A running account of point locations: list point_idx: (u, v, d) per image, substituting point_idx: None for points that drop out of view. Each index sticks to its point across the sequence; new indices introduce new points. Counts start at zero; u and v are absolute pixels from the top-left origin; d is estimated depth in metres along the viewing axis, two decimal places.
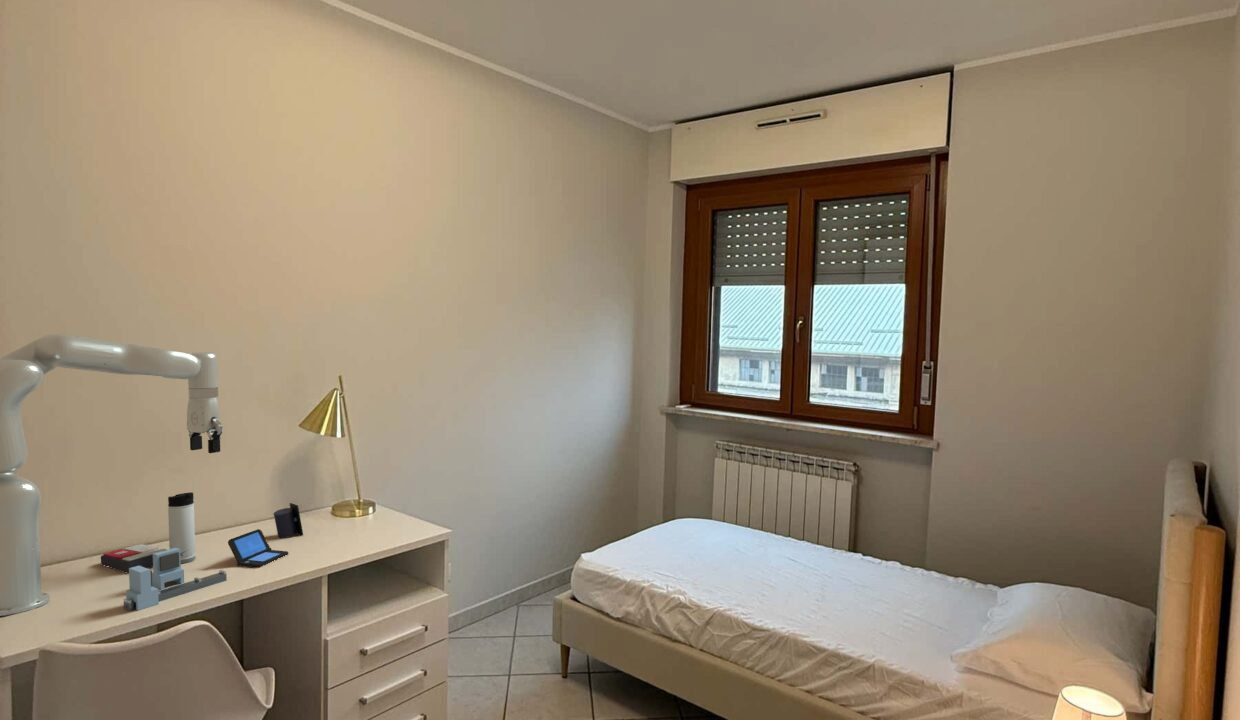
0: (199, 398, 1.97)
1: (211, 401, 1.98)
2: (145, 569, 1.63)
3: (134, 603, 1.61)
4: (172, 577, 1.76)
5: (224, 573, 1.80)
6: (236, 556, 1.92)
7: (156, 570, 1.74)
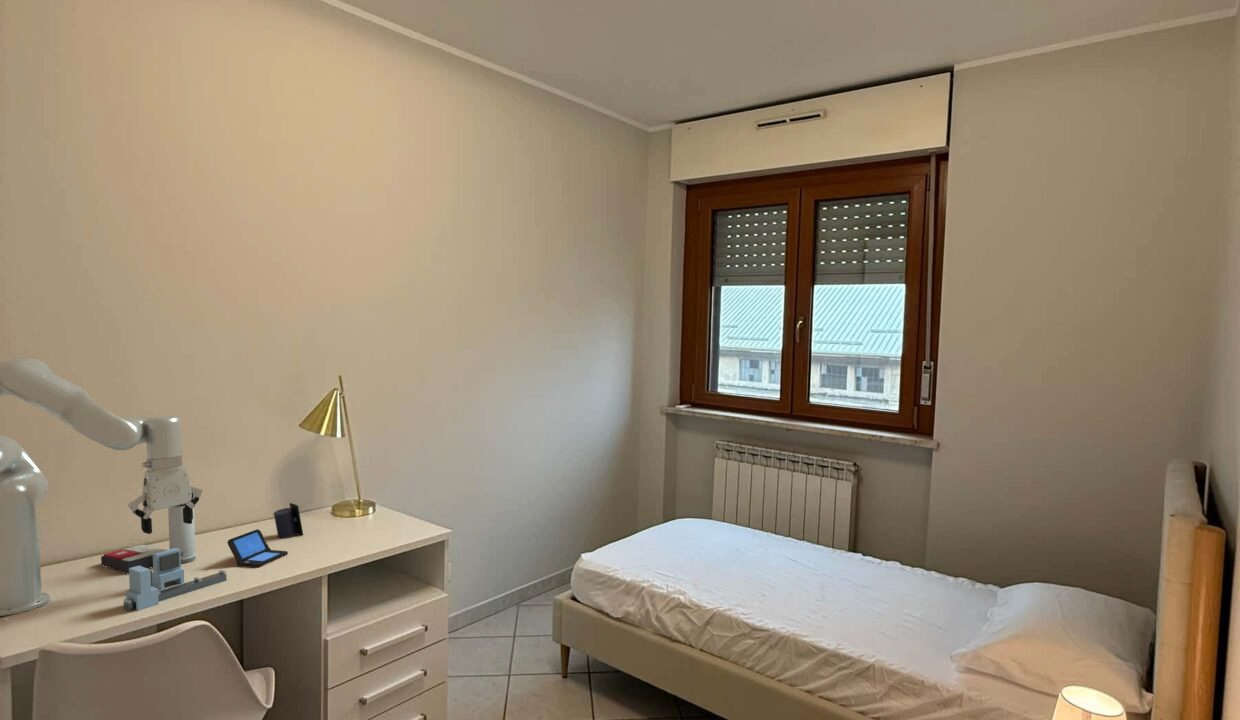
0: (181, 466, 1.77)
1: None
2: (145, 569, 1.63)
3: (134, 603, 1.61)
4: (172, 577, 1.76)
5: (224, 573, 1.80)
6: (236, 556, 1.92)
7: (156, 570, 1.74)
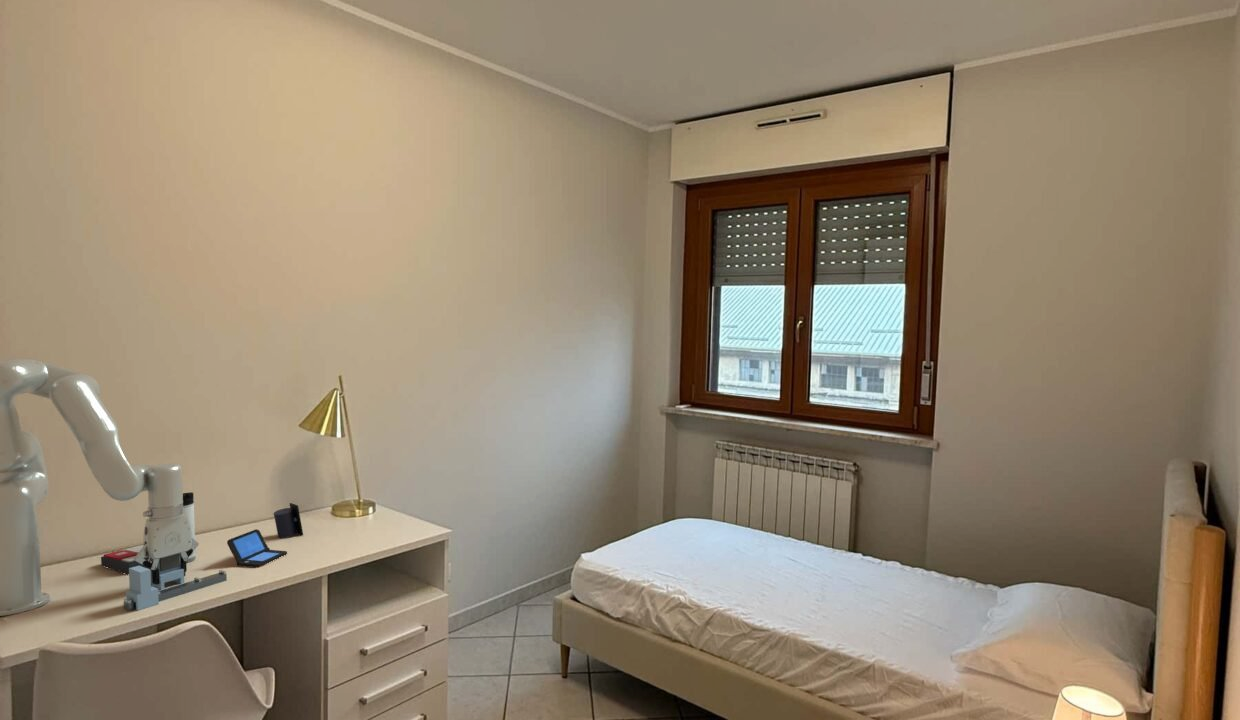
0: (182, 514, 1.77)
1: None
2: (145, 569, 1.63)
3: (134, 603, 1.61)
4: (172, 577, 1.76)
5: (224, 573, 1.80)
6: (235, 556, 1.92)
7: None
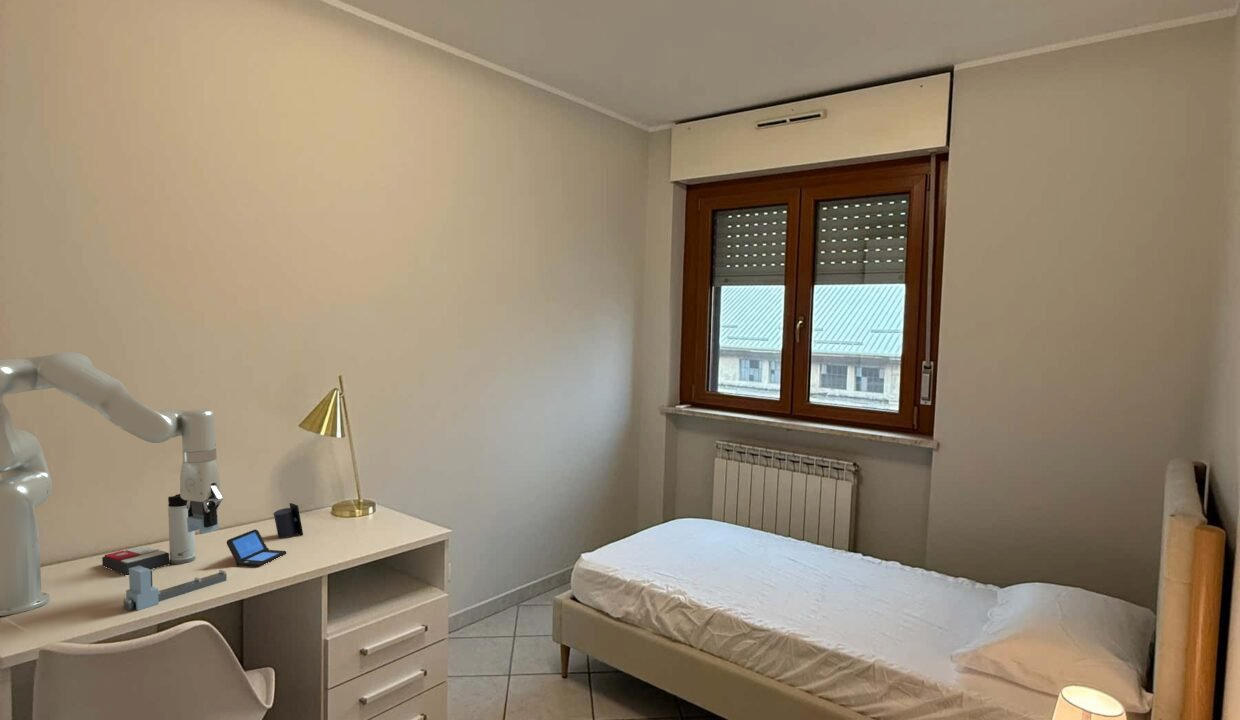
0: (196, 462, 1.73)
1: (210, 465, 1.74)
2: (145, 569, 1.63)
3: (134, 603, 1.61)
4: (194, 523, 1.75)
5: (224, 573, 1.80)
6: (235, 556, 1.92)
7: None
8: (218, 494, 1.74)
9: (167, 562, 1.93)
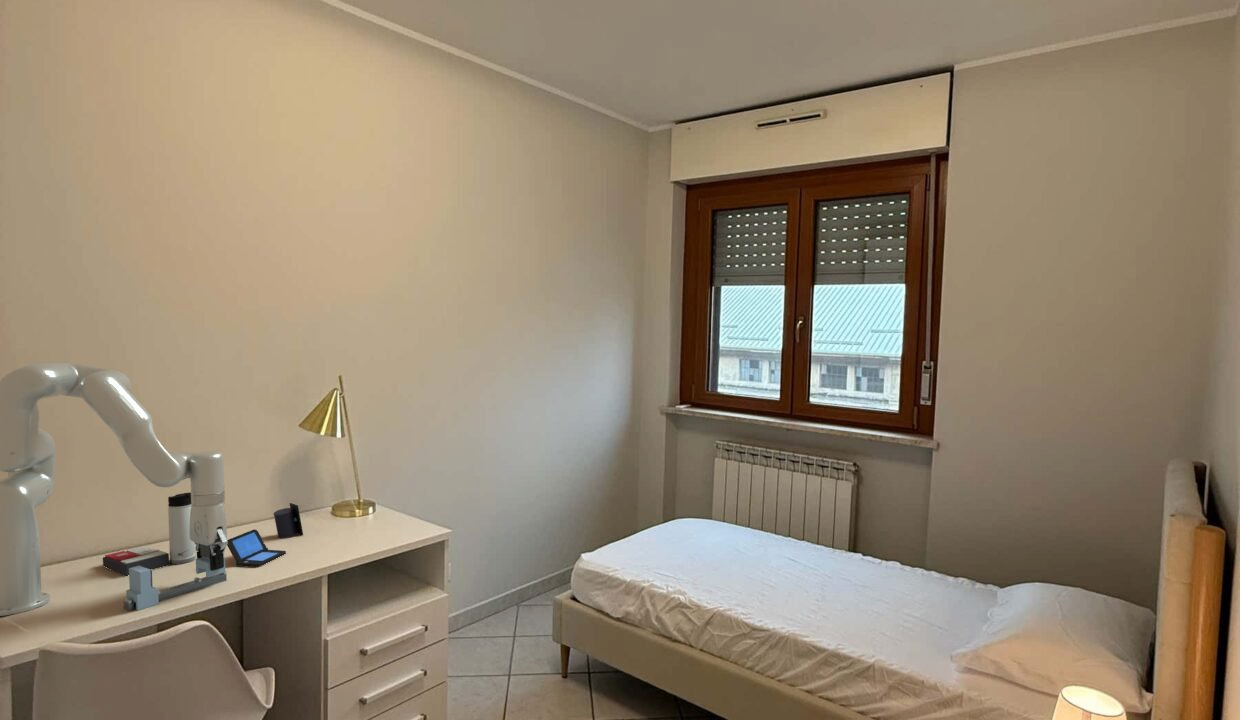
0: (203, 506, 1.73)
1: (216, 508, 1.74)
2: (145, 569, 1.63)
3: (134, 603, 1.61)
4: (201, 565, 1.76)
5: (224, 573, 1.80)
6: (235, 556, 1.92)
7: None
8: (223, 538, 1.74)
9: (167, 563, 1.92)
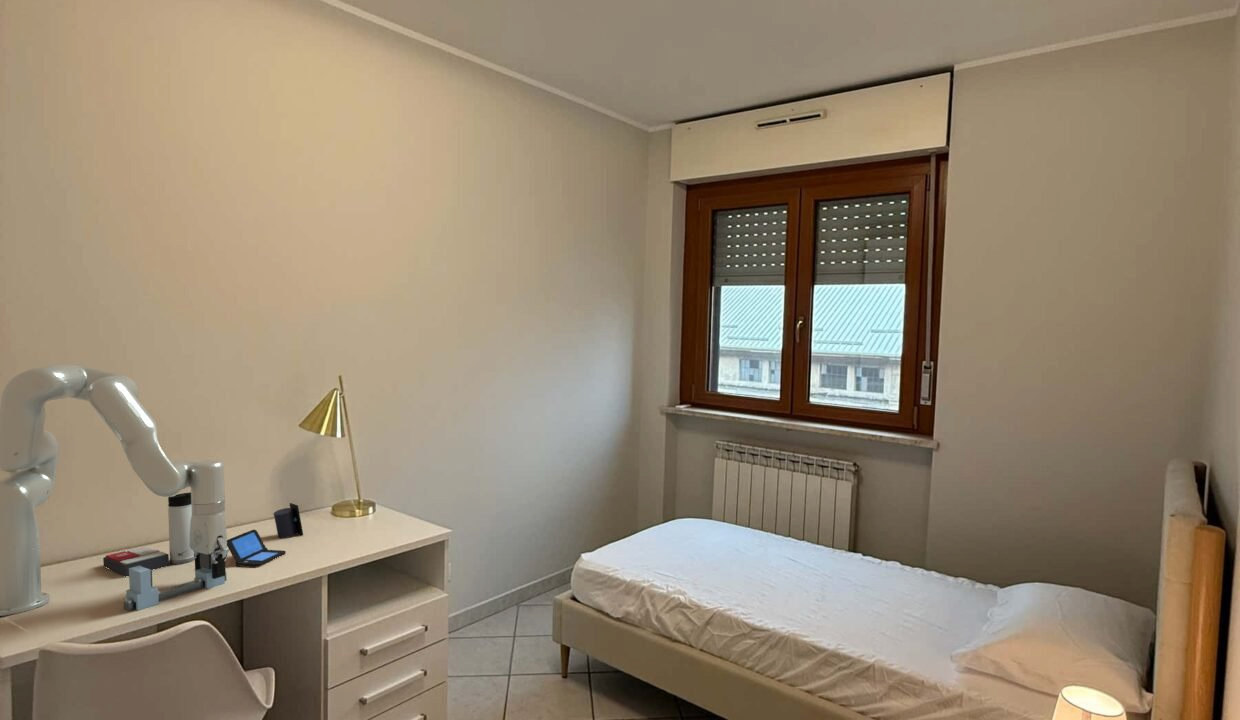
0: (203, 515, 1.73)
1: (216, 518, 1.74)
2: (145, 569, 1.63)
3: (134, 603, 1.61)
4: (201, 576, 1.76)
5: None
6: (234, 556, 1.92)
7: None
8: (224, 545, 1.74)
9: (166, 563, 1.92)
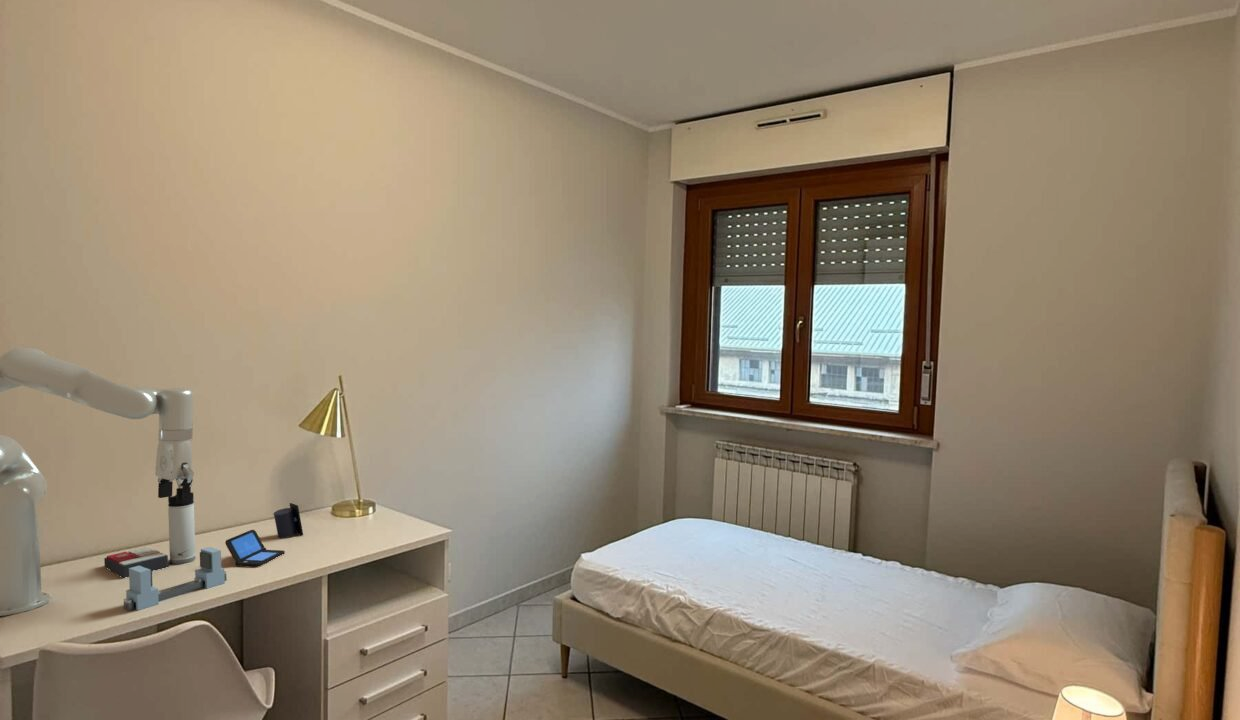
0: (169, 441, 1.74)
1: (182, 444, 1.75)
2: (145, 569, 1.63)
3: (134, 603, 1.61)
4: (201, 576, 1.76)
5: (224, 573, 1.80)
6: (234, 556, 1.92)
7: None
8: (189, 469, 1.74)
9: (166, 565, 1.91)
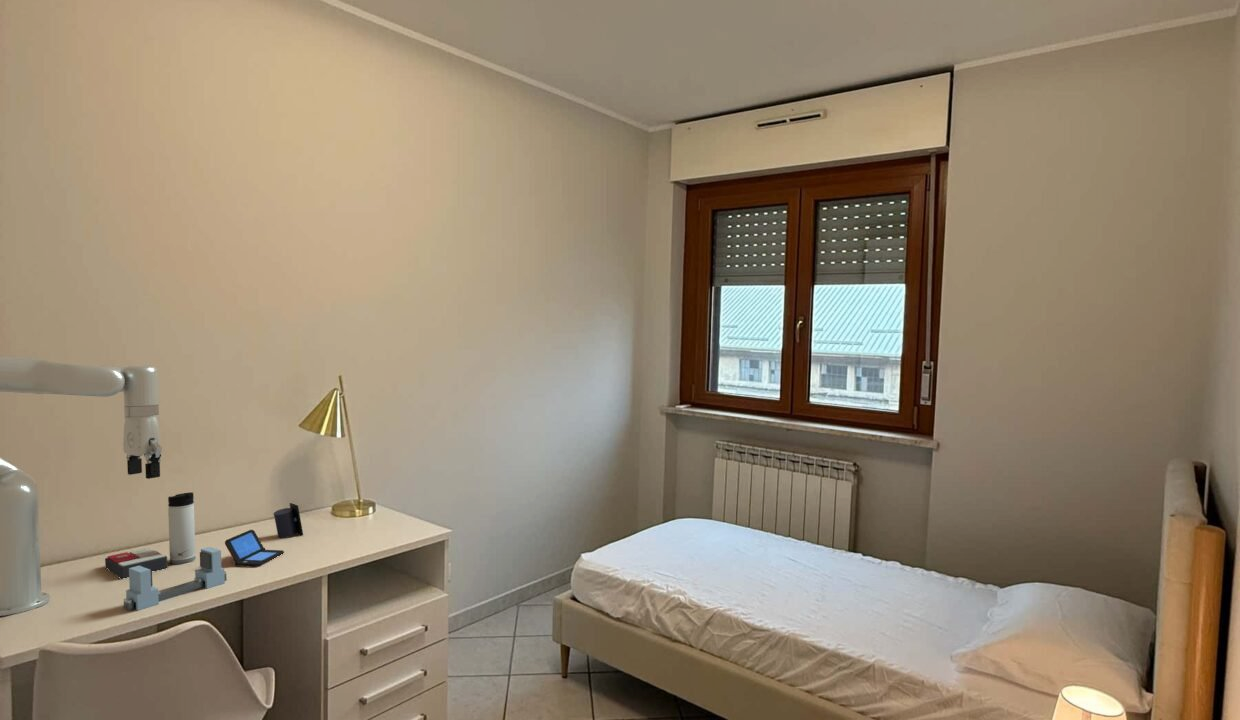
0: (135, 417, 1.76)
1: (149, 420, 1.77)
2: (145, 569, 1.63)
3: (134, 603, 1.61)
4: (201, 576, 1.76)
5: (224, 573, 1.80)
6: (234, 556, 1.92)
7: None
8: (157, 444, 1.76)
9: (165, 566, 1.90)
